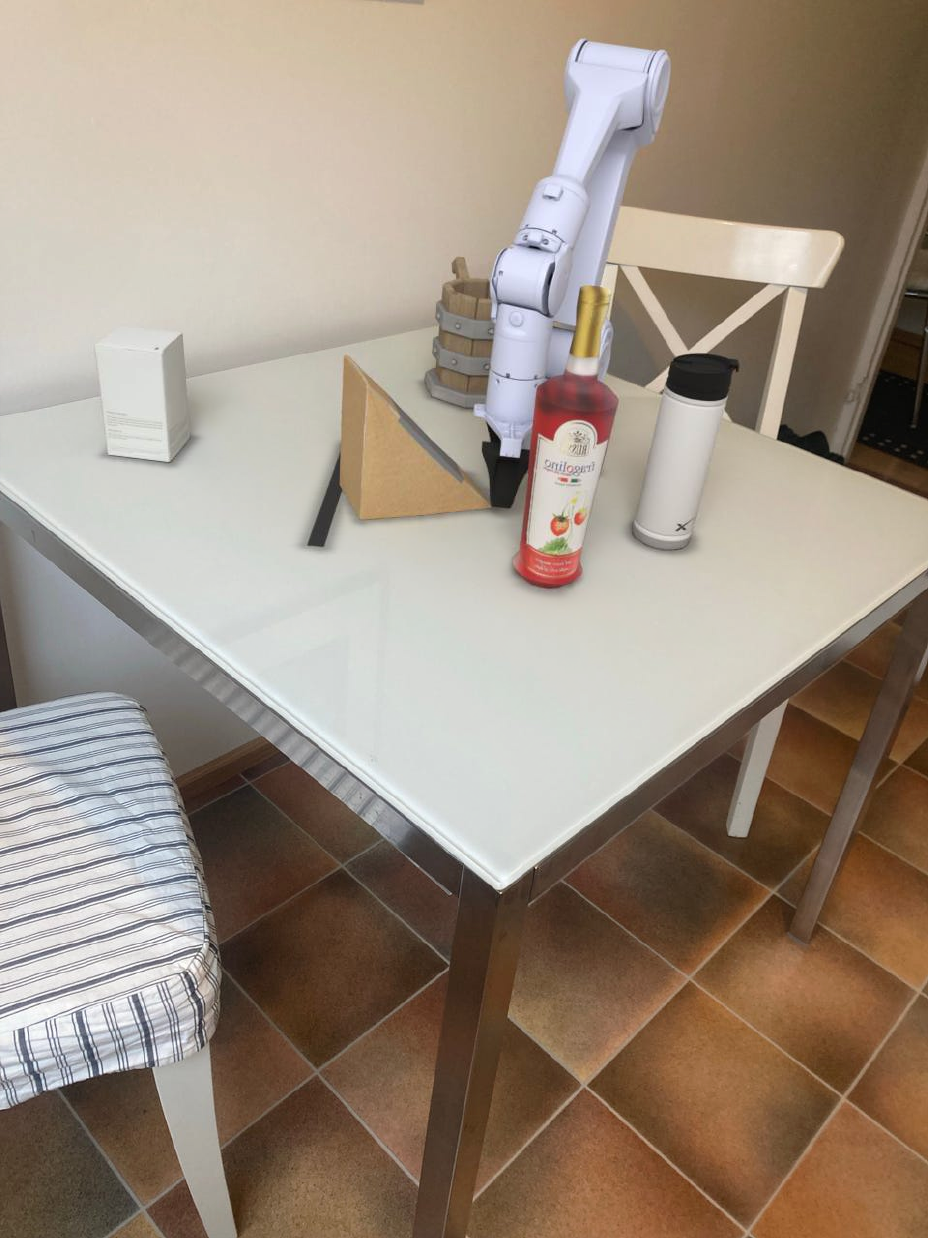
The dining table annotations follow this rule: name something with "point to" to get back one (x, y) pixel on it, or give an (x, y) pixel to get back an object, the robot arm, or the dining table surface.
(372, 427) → the sandwich container
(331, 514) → the tape line
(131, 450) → the white packaging box
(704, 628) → the dining table surface
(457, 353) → the tankard
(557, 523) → the liquor
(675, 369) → the travel mug
